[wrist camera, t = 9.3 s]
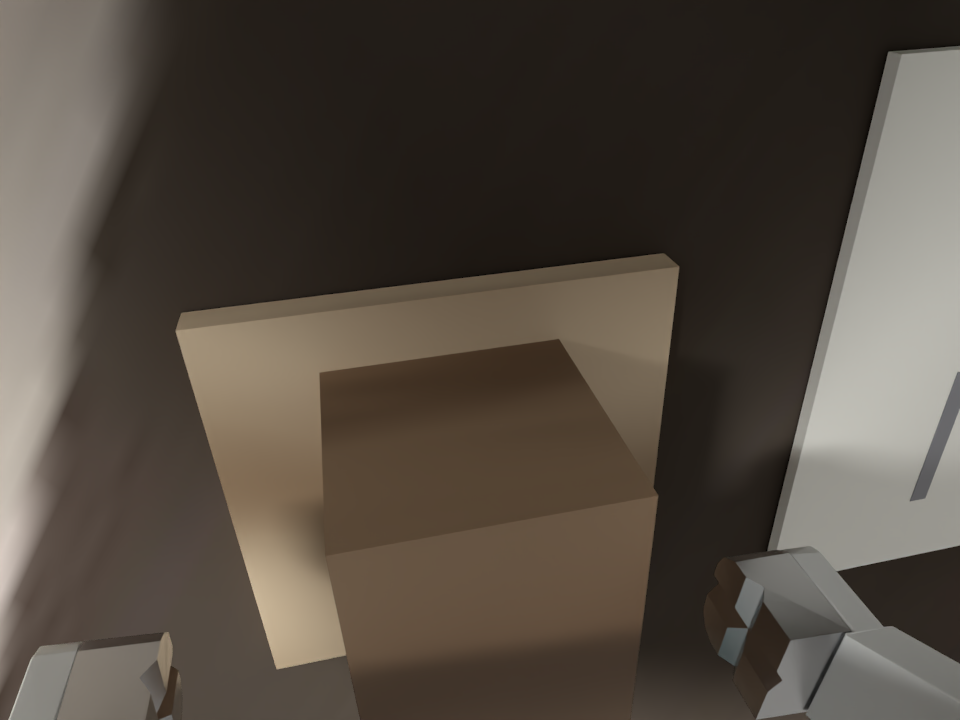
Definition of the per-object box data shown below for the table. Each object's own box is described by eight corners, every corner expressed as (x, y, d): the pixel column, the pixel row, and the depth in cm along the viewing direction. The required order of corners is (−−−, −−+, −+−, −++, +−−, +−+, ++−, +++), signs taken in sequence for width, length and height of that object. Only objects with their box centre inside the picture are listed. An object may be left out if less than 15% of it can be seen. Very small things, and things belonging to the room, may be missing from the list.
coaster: (181, 312, 11) (176, 330, 10) (664, 253, 12) (679, 266, 12) (277, 645, 15) (276, 669, 15) (630, 575, 16) (640, 595, 16)
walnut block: (319, 372, 11) (325, 556, 8) (558, 338, 12) (658, 494, 9) (365, 620, 14) (383, 828, 11) (553, 583, 15) (624, 768, 12)
